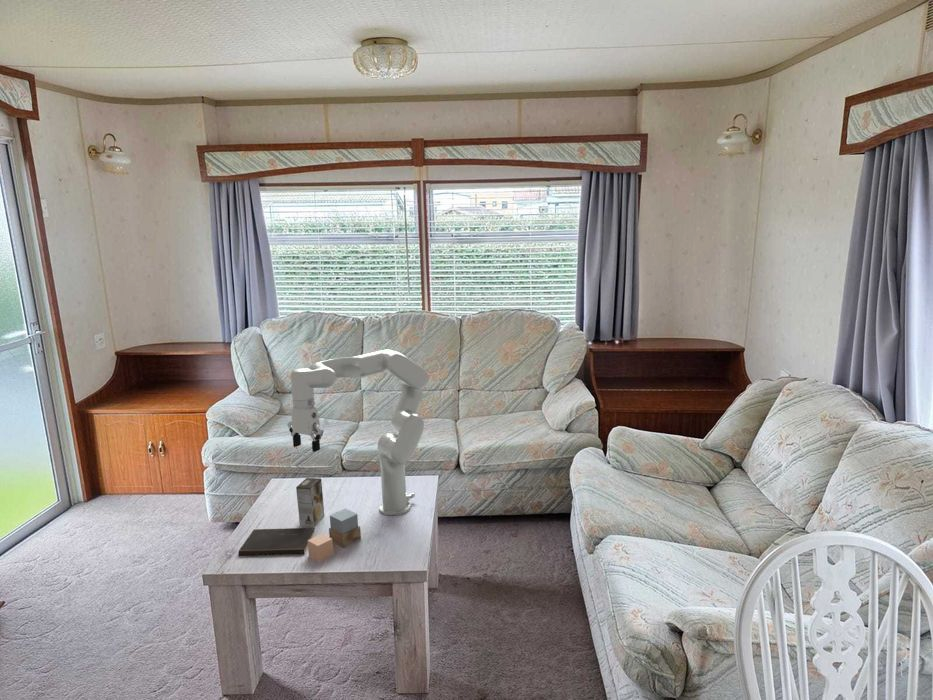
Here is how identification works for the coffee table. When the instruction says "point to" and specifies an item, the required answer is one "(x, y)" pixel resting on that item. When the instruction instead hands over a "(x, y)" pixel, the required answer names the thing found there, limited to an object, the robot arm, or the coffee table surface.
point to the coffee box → (310, 501)
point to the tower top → (343, 521)
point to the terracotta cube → (320, 547)
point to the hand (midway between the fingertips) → (306, 448)
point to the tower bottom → (345, 536)
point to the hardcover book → (277, 542)
